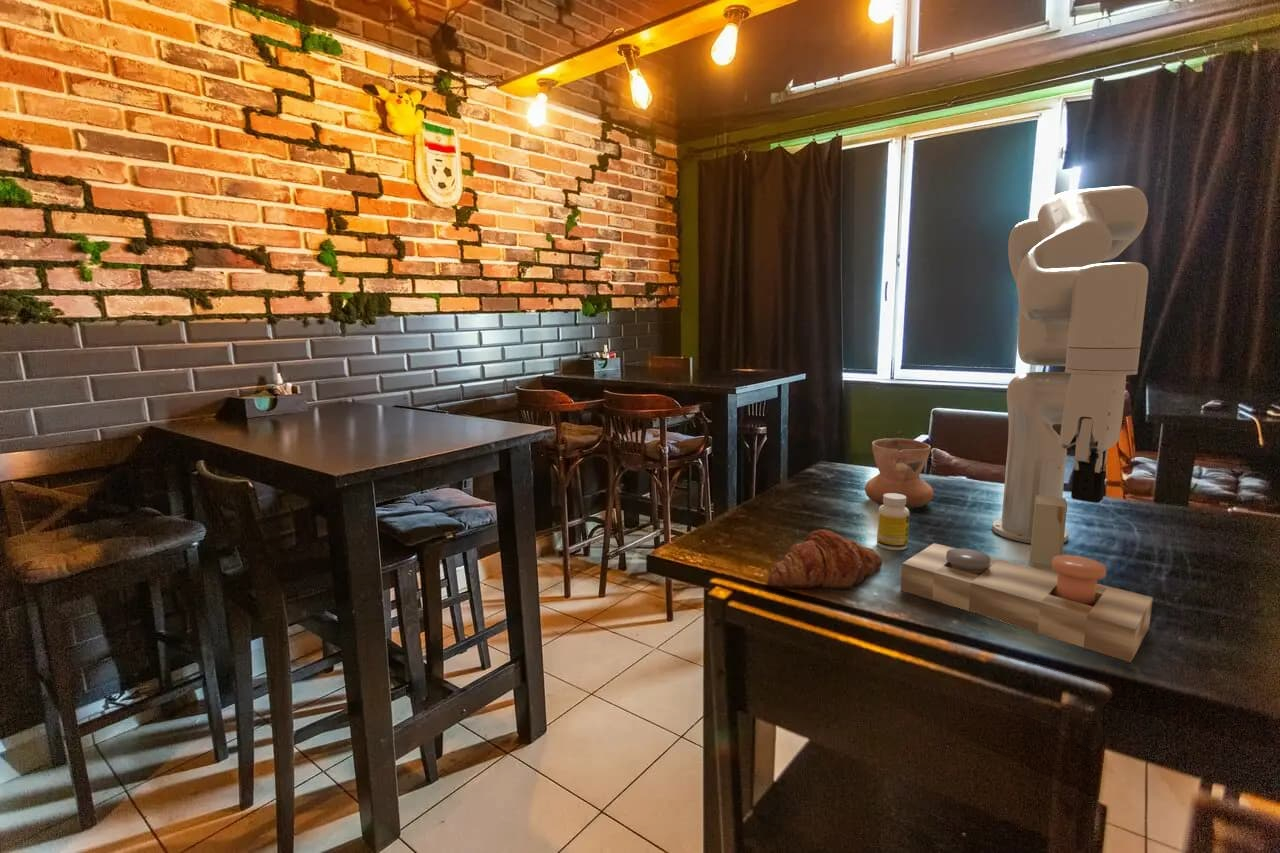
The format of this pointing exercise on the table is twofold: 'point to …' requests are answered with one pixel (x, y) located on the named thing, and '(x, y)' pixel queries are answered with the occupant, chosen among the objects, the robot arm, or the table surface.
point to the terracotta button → (1077, 578)
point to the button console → (1033, 602)
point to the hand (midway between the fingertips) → (1086, 499)
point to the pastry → (824, 563)
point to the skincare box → (1047, 531)
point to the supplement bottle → (893, 522)
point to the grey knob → (968, 560)
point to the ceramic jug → (900, 471)
